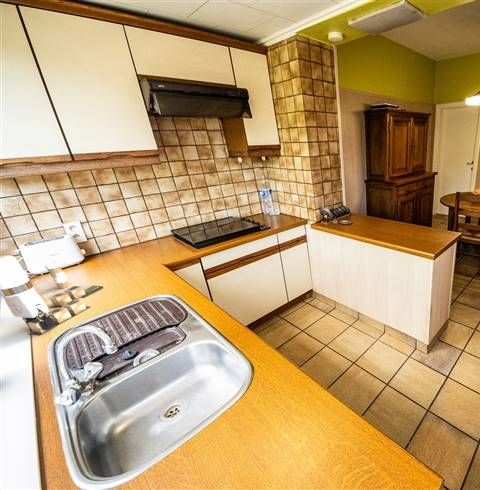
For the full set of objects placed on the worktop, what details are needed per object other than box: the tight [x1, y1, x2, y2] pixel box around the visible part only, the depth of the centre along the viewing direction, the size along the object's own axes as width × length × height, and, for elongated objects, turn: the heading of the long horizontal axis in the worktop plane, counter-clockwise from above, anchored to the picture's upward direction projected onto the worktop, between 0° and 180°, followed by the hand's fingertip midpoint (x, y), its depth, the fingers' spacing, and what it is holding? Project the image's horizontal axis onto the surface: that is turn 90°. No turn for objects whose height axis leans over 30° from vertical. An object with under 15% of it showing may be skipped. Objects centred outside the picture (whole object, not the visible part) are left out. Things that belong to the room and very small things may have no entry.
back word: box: [48, 285, 104, 309], centre depth 125 cm, size 18×6×6 cm, turn 171°
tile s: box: [26, 315, 48, 333], centre depth 103 cm, size 4×4×4 cm
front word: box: [27, 299, 91, 337], centre depth 108 cm, size 18×6×6 cm, turn 171°
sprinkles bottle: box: [44, 261, 71, 290], centre depth 133 cm, size 5×5×14 cm
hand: (43, 326), depth 104 cm, fingers open, 6 cm apart
